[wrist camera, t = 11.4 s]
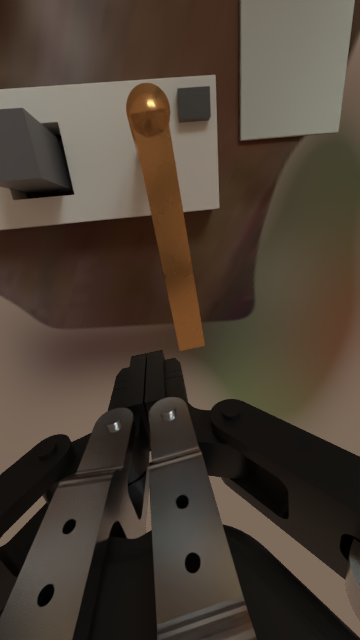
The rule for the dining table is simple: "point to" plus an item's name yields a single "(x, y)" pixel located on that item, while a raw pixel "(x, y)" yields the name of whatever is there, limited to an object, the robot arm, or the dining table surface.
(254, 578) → the robot arm
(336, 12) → the mat
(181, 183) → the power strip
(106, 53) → the dining table surface
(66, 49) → the dining table surface
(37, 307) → the dining table surface
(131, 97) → the orange lever handle
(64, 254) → the dining table surface
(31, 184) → the plug
